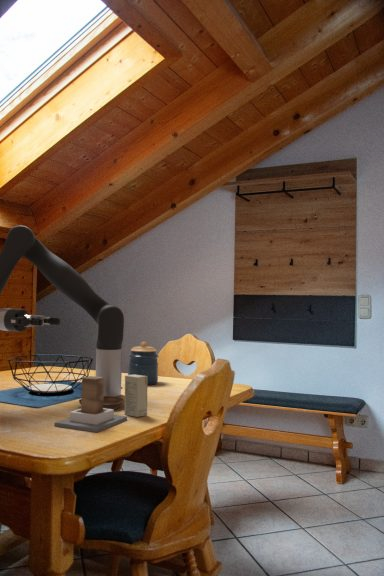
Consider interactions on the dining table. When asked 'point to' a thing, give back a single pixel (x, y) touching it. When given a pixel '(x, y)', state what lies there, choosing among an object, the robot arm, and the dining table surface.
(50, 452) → the dining table surface
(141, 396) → the skincare box
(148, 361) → the canister
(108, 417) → the collar holder
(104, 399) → the saucer
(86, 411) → the walnut square peg
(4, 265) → the robot arm
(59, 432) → the dining table surface
